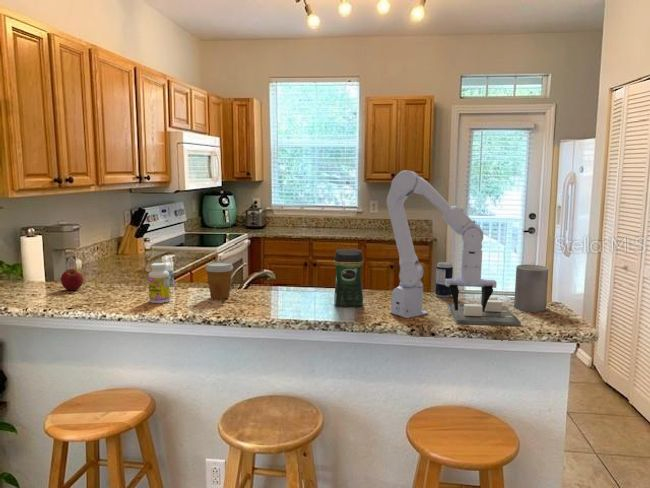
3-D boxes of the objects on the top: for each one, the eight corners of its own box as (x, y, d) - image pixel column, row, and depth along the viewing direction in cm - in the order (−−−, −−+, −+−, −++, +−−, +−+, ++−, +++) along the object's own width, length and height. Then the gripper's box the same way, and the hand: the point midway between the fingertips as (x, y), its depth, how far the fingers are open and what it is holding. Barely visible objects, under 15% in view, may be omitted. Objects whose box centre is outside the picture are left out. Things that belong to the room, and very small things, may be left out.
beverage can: (452, 298, 172) (453, 264, 171) (435, 297, 174) (436, 264, 172) (451, 294, 178) (452, 262, 176) (435, 294, 179) (436, 261, 178)
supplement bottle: (145, 302, 164) (143, 264, 162) (158, 298, 170) (157, 261, 168) (161, 304, 161) (159, 266, 160) (174, 300, 167) (173, 263, 166)
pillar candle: (519, 303, 167) (521, 259, 165) (550, 307, 161) (552, 262, 158) (509, 309, 159) (511, 263, 157) (541, 314, 153) (543, 267, 151)
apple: (56, 292, 178) (54, 270, 177) (71, 287, 186) (69, 266, 185) (75, 293, 176) (73, 271, 175) (89, 288, 184) (88, 267, 183)
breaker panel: (456, 323, 143) (456, 319, 142) (447, 306, 161) (448, 303, 161) (520, 325, 141) (520, 322, 140) (504, 308, 159) (504, 305, 159)
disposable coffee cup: (239, 296, 173) (238, 263, 171) (220, 302, 165) (219, 267, 163) (219, 293, 178) (219, 260, 176) (200, 298, 170) (199, 264, 168)
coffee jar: (362, 301, 167) (363, 247, 164) (363, 307, 159) (364, 251, 156) (333, 301, 167) (334, 247, 165) (333, 307, 159) (334, 251, 157)
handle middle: (484, 311, 151) (485, 301, 151) (483, 309, 154) (483, 299, 153) (501, 311, 151) (502, 302, 150) (499, 309, 153) (500, 300, 153)
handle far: (480, 306, 157) (481, 297, 157) (479, 304, 160) (479, 295, 159) (497, 306, 157) (497, 297, 156) (495, 304, 159) (495, 295, 159)
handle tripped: (464, 315, 146) (465, 305, 146) (463, 313, 149) (463, 303, 148) (482, 316, 146) (482, 306, 145) (480, 314, 148) (481, 304, 148)
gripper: (448, 267, 142) (446, 312, 144) (499, 268, 141) (497, 314, 142) (445, 263, 149) (443, 306, 151) (494, 264, 148) (491, 308, 149)
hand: (469, 310), depth 147 cm, fingers open, 7 cm apart
